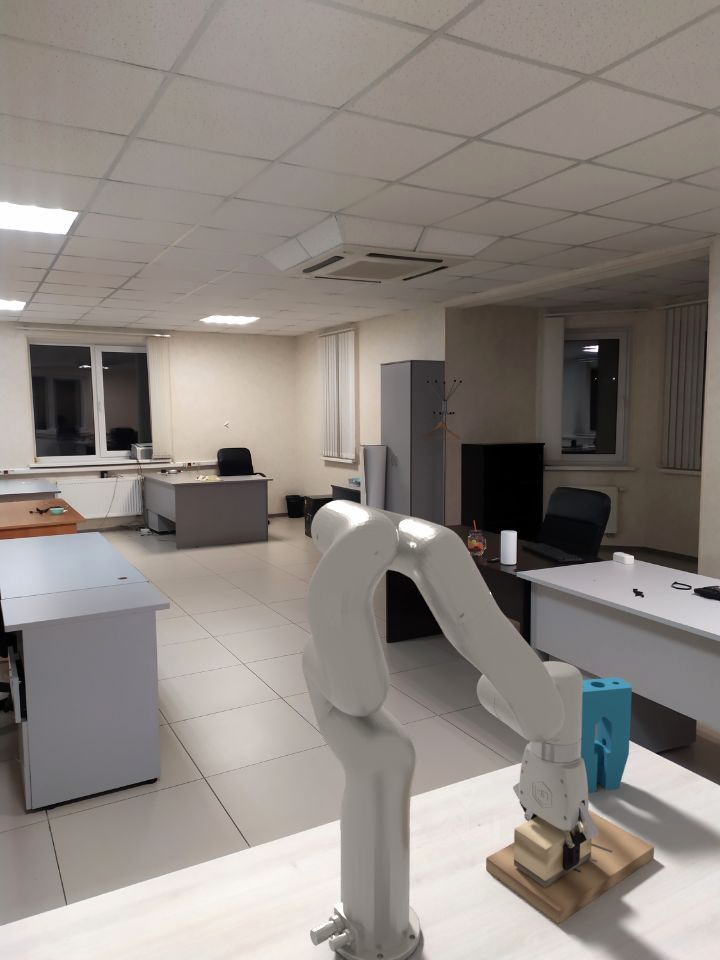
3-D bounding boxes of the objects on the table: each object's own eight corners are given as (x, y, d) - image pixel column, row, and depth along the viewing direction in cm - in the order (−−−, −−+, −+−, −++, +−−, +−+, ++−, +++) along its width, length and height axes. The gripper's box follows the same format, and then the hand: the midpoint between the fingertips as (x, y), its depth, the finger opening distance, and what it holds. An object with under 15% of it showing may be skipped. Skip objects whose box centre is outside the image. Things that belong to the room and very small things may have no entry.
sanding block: (545, 887, 100) (545, 849, 99) (513, 865, 105) (514, 828, 104) (590, 857, 106) (592, 821, 106) (559, 837, 111) (560, 803, 111)
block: (614, 773, 135) (619, 677, 133) (629, 787, 130) (634, 687, 128) (559, 779, 133) (562, 681, 131) (572, 794, 128) (575, 692, 126)
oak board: (558, 924, 96) (559, 910, 96) (486, 869, 107) (486, 857, 107) (653, 858, 110) (654, 846, 110) (580, 816, 121) (580, 805, 121)
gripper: (495, 730, 108) (494, 835, 110) (588, 777, 94) (585, 897, 96) (527, 716, 113) (525, 818, 115) (620, 760, 99) (616, 875, 101)
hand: (552, 853), depth 106 cm, fingers closed on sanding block, 6 cm apart
